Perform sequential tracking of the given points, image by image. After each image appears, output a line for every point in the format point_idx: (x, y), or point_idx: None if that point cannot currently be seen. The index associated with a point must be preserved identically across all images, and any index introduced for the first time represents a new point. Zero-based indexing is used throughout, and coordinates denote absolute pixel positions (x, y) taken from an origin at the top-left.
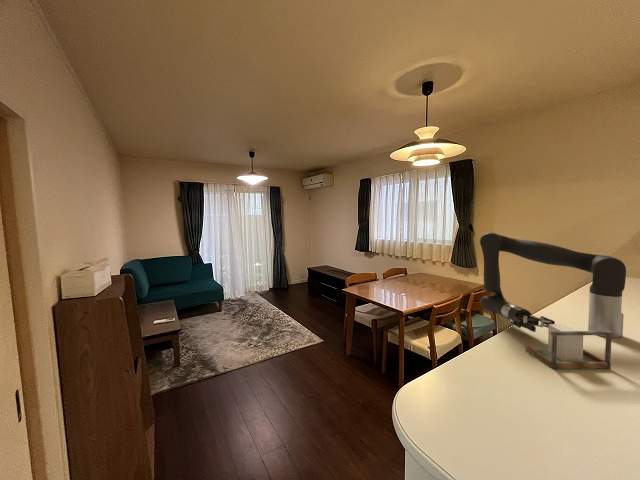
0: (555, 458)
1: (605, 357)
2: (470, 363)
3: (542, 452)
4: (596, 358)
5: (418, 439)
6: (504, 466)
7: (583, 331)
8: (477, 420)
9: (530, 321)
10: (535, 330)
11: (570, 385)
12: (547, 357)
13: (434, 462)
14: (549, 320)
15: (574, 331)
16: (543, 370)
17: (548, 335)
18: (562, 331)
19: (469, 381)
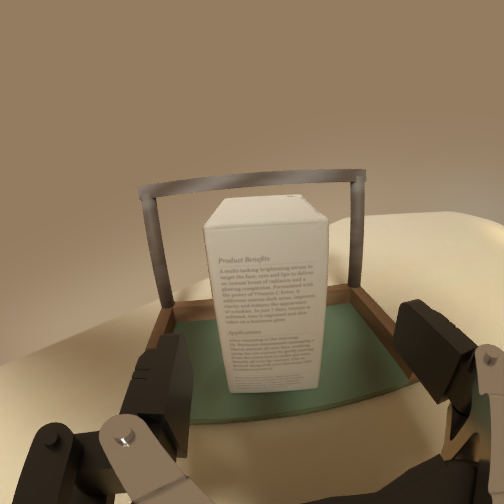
0: (396, 217)
1: (170, 288)
2: None
3: (405, 218)
4: (168, 325)
5: (476, 217)
6: (426, 213)
7: (245, 173)
8: (453, 225)
9: (424, 466)
10: (395, 331)
11: (342, 267)
12: (347, 341)
13: (460, 213)
14: (65, 473)
15: (281, 171)
16: (382, 292)
17: (325, 303)
18: (328, 169)
19: (487, 250)
